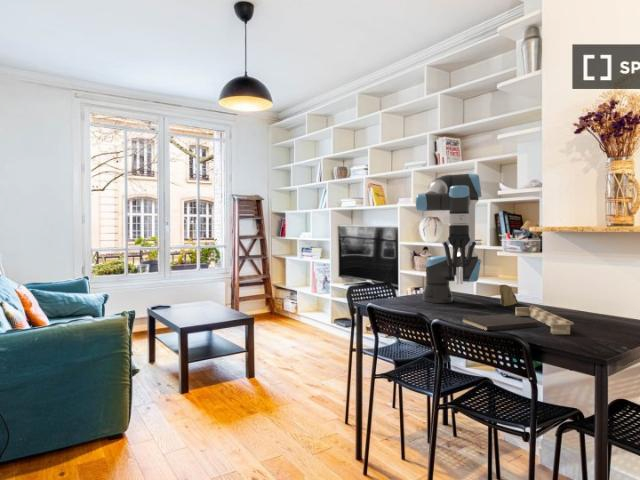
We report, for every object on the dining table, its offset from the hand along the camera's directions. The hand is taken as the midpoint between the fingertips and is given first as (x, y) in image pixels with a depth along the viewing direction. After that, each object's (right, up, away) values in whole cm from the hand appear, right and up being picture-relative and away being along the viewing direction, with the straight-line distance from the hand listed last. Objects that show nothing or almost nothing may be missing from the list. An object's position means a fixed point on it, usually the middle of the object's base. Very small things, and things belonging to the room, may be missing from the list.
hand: (458, 283), depth 171 cm
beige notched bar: (+33, -16, 0) cm, 36 cm away
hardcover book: (+16, -17, 0) cm, 24 cm away
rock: (+38, -15, +40) cm, 57 cm away
